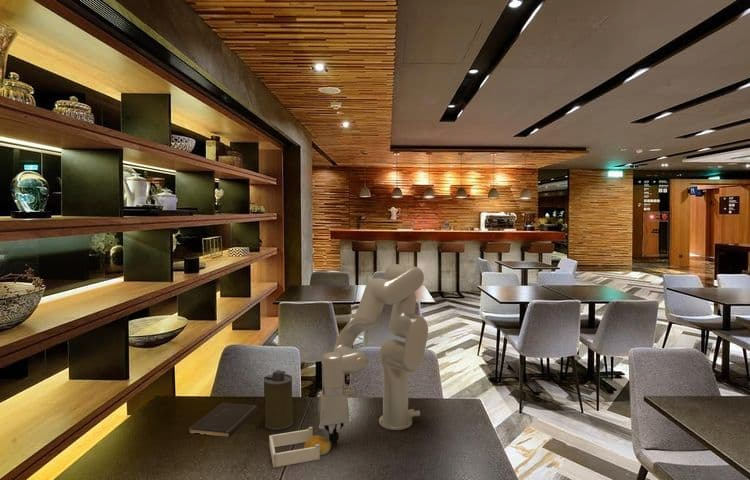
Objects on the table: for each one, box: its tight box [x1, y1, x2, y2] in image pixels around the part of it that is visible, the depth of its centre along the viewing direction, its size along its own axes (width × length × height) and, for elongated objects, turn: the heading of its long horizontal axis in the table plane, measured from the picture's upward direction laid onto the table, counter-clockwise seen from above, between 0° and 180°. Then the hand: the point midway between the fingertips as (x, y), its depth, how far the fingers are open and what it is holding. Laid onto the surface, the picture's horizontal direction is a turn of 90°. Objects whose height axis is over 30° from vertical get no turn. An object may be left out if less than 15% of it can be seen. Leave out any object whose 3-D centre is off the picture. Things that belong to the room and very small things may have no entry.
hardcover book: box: [188, 402, 259, 438], centre depth 168 cm, size 16×23×2 cm
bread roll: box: [303, 434, 332, 456], centre depth 147 cm, size 8×9×4 cm
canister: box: [263, 369, 294, 431], centre depth 165 cm, size 11×10×20 cm
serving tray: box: [268, 426, 321, 468], centre depth 145 cm, size 15×14×5 cm
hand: (333, 442), depth 149 cm, fingers closed
